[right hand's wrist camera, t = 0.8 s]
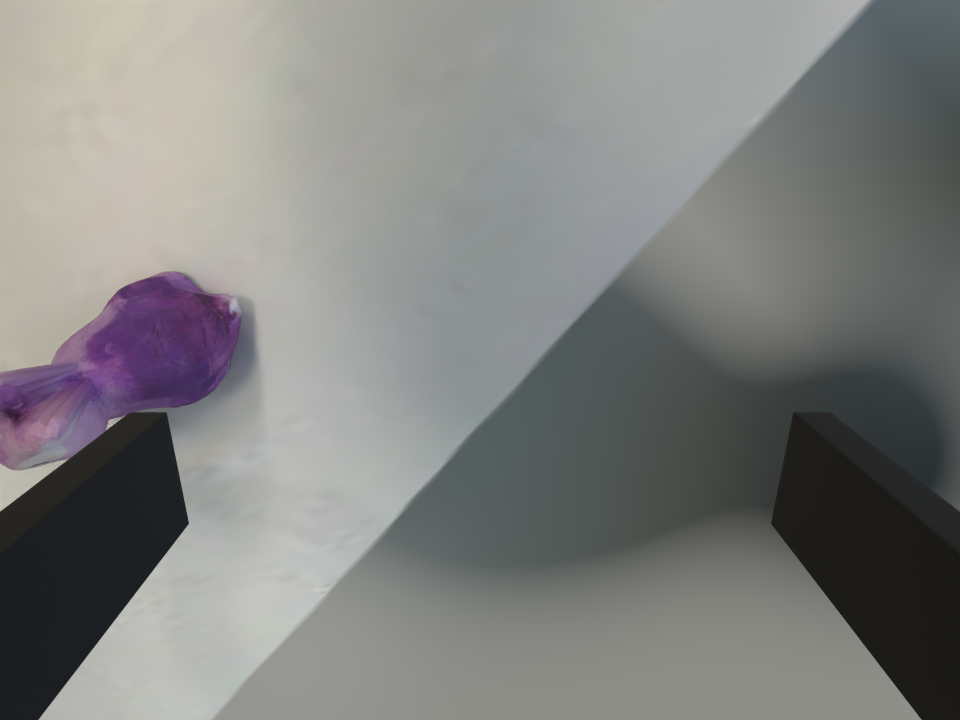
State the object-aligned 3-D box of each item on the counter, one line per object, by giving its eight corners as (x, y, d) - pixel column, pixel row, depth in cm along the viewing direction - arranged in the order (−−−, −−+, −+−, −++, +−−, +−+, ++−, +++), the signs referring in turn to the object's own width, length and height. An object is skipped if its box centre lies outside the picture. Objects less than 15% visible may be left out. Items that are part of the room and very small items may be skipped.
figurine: (98, 389, 41) (-100, 515, 27) (110, 249, 38) (-109, 309, 24) (233, 424, 42) (109, 563, 28) (256, 290, 39) (128, 371, 25)
